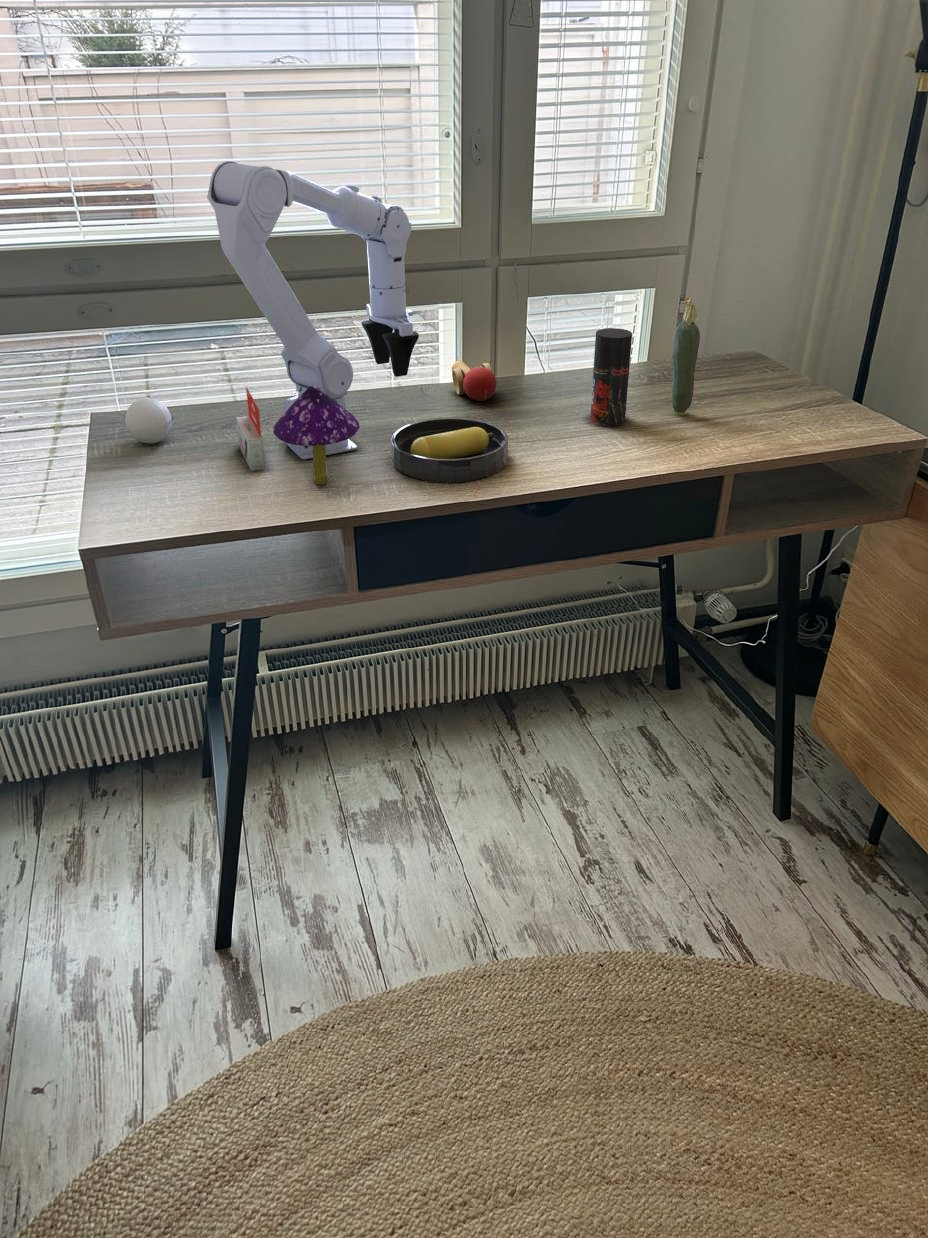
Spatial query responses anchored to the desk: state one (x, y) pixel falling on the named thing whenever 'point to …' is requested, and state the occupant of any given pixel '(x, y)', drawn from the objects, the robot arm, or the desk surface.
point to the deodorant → (610, 376)
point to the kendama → (474, 380)
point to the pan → (448, 468)
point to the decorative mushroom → (316, 426)
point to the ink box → (251, 436)
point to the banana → (452, 444)
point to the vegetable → (685, 359)
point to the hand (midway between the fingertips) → (391, 369)
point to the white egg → (148, 420)
